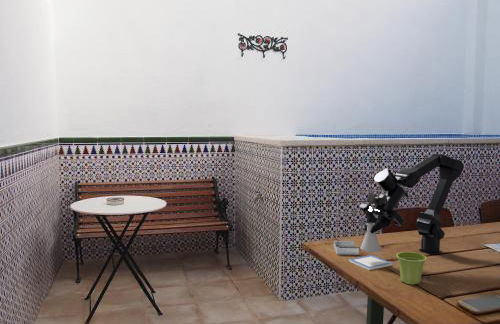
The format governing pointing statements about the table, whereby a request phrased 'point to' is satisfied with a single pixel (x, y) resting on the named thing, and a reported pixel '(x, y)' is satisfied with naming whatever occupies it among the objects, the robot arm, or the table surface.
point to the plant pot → (411, 267)
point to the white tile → (370, 262)
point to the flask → (370, 240)
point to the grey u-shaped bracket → (346, 248)
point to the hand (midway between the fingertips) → (368, 231)
